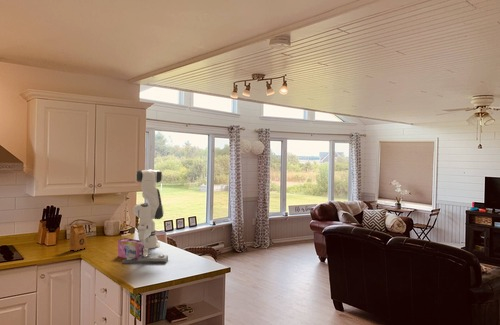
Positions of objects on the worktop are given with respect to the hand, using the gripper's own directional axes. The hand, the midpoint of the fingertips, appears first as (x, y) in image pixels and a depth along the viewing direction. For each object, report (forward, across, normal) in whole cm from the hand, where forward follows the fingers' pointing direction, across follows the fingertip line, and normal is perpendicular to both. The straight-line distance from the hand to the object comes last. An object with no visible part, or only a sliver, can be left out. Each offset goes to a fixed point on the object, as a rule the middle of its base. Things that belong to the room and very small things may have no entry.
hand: (145, 243), depth 277 cm
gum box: (+15, -13, -15) cm, 25 cm away
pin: (+14, 0, 0) cm, 14 cm away
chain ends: (+14, 0, 0) cm, 14 cm away
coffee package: (+15, -38, -70) cm, 81 cm away
